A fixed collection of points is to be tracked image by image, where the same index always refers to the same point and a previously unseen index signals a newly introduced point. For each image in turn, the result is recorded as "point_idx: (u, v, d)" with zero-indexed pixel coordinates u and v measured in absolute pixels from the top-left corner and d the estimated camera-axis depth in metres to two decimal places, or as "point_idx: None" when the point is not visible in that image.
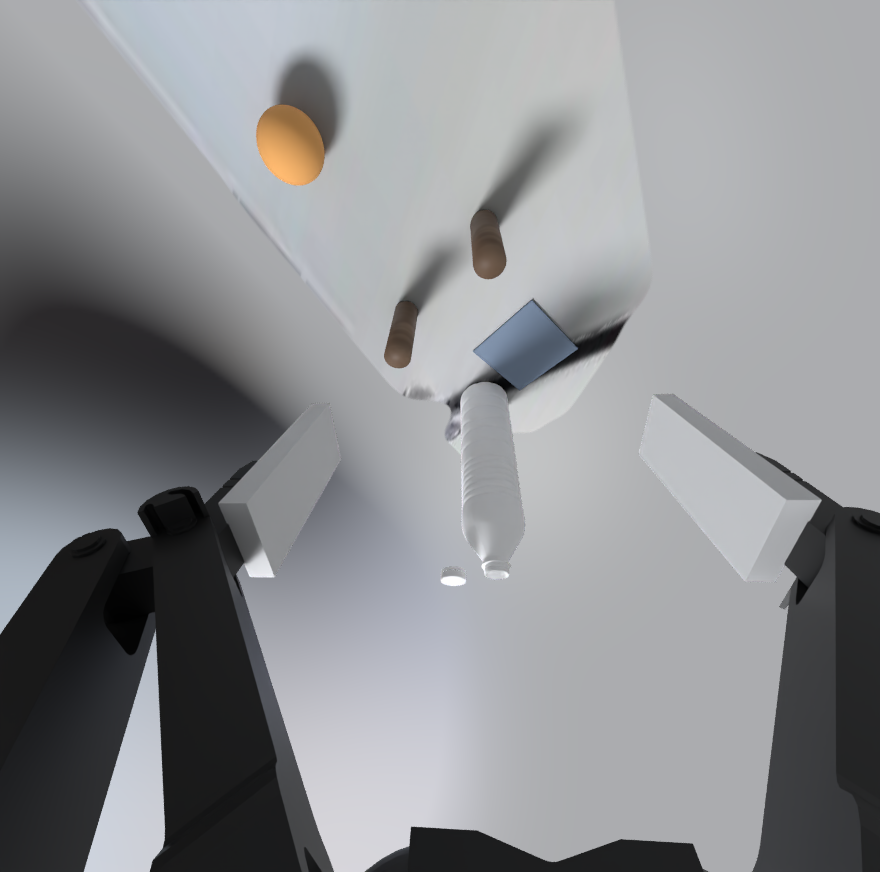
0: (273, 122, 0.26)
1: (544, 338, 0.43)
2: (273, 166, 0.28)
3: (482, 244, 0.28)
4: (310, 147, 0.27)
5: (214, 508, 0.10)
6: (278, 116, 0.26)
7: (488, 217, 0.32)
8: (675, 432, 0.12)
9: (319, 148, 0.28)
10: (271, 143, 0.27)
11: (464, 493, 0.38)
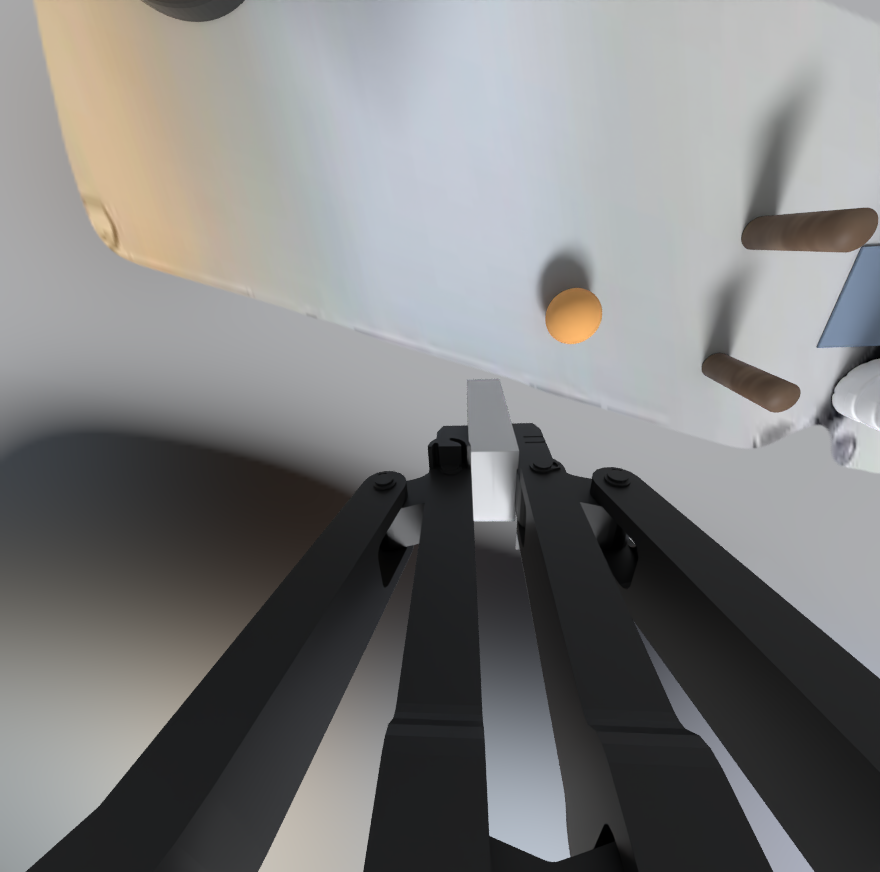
0: (565, 308, 0.32)
1: None
2: (575, 336, 0.33)
3: (829, 225, 0.25)
4: (595, 301, 0.32)
5: None
6: (565, 302, 0.32)
7: (773, 218, 0.30)
8: None
9: (597, 298, 0.32)
10: (570, 322, 0.32)
11: None
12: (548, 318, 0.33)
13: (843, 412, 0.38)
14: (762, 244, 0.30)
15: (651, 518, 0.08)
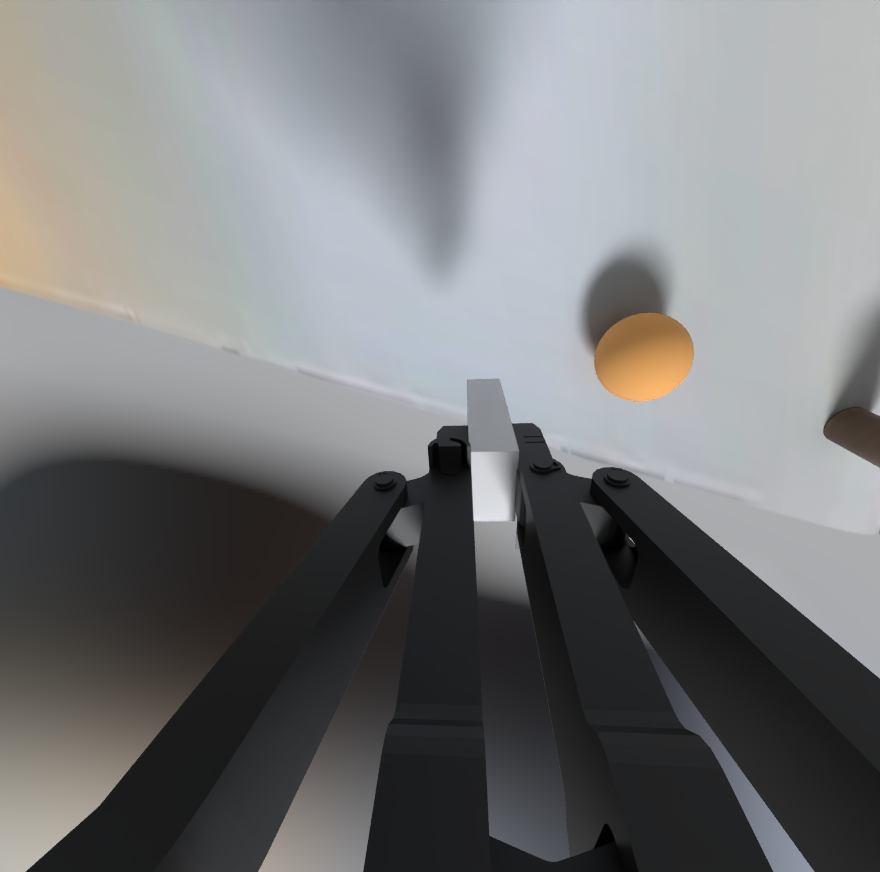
0: (635, 349, 0.19)
1: None
2: (650, 393, 0.20)
3: None
4: (686, 337, 0.19)
5: None
6: (635, 338, 0.19)
7: None
8: None
9: None
10: (644, 372, 0.19)
11: None
12: (602, 362, 0.20)
13: None
14: None
15: (651, 518, 0.08)
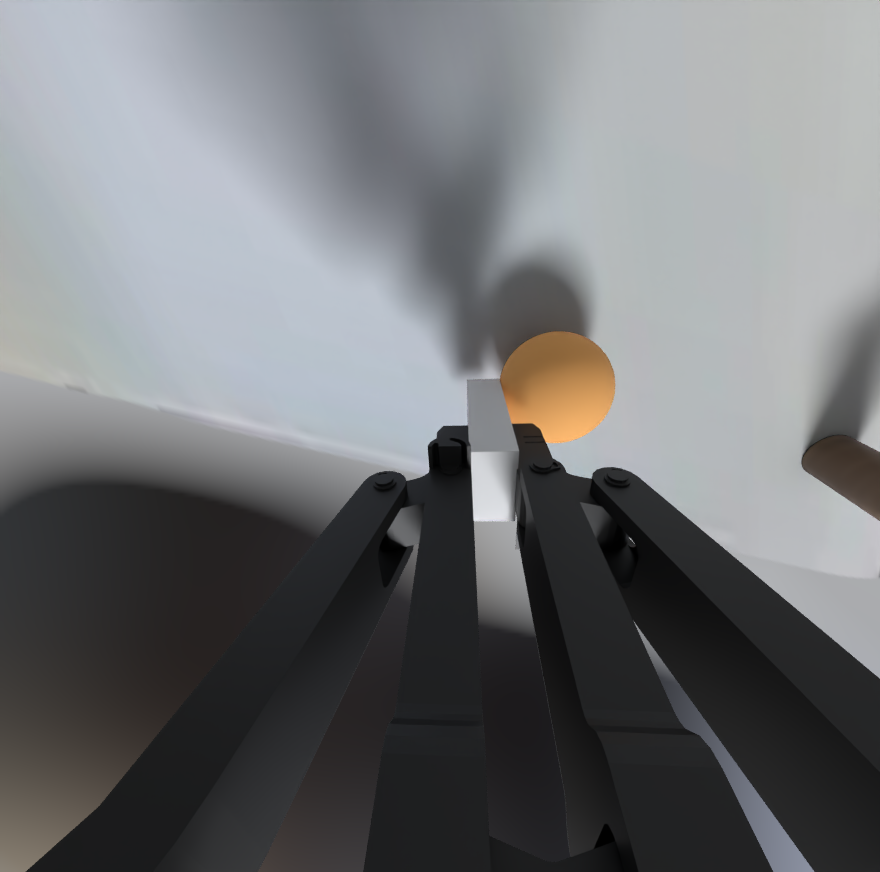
0: (533, 381, 0.14)
1: None
2: (560, 436, 0.15)
3: None
4: (600, 364, 0.14)
5: None
6: (534, 367, 0.14)
7: None
8: None
9: (604, 354, 0.15)
10: (547, 411, 0.14)
11: None
12: None
13: None
14: None
15: (651, 518, 0.08)
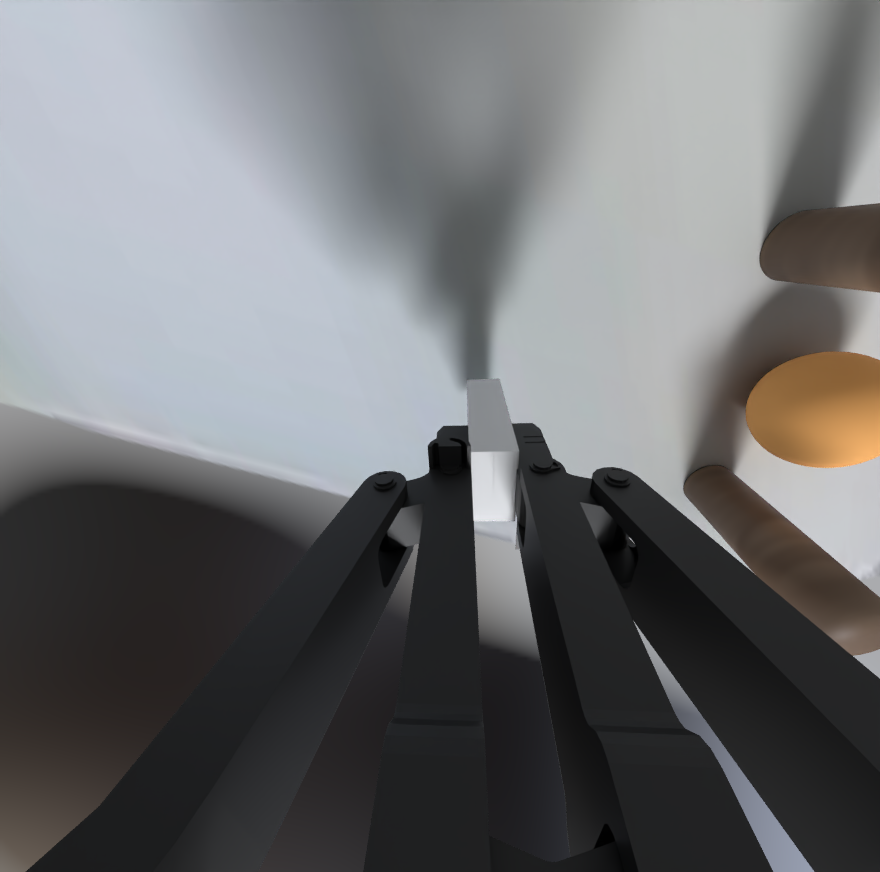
0: None
1: None
2: None
3: None
4: None
5: None
6: (875, 395, 0.13)
7: (838, 214, 0.13)
8: None
9: None
10: None
11: None
12: (809, 429, 0.14)
13: None
14: (810, 273, 0.13)
15: (651, 518, 0.08)
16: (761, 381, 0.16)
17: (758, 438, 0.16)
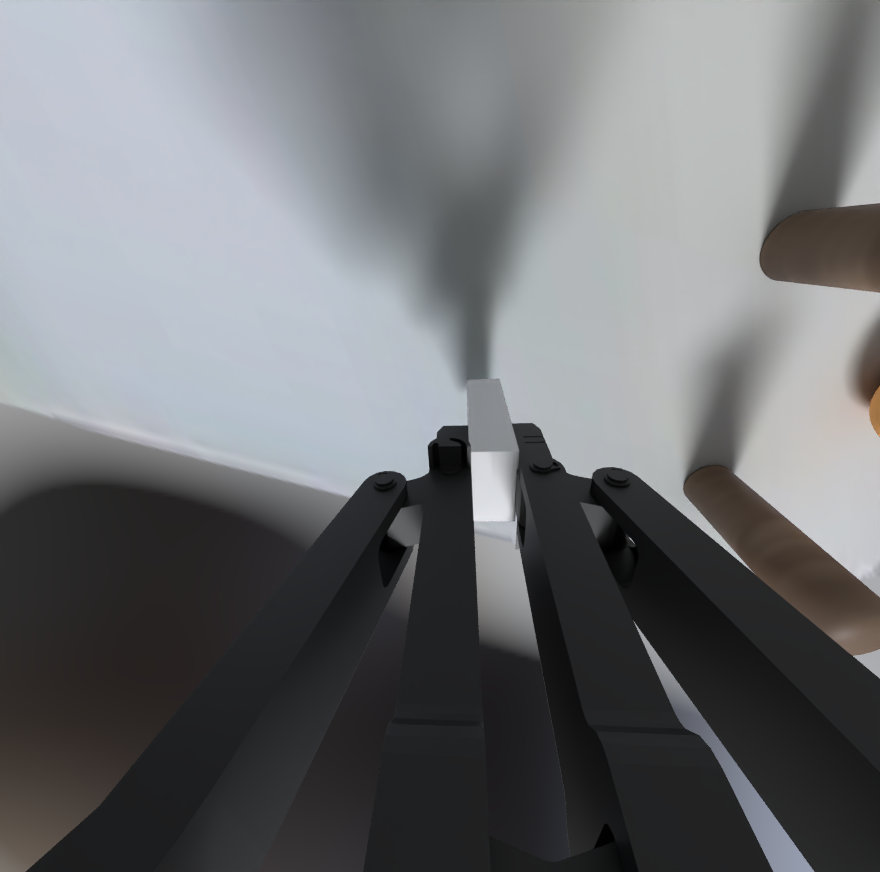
0: None
1: None
2: None
3: None
4: None
5: None
6: None
7: (838, 214, 0.13)
8: None
9: None
10: None
11: None
12: None
13: None
14: (810, 273, 0.13)
15: (651, 518, 0.08)
16: None
17: None
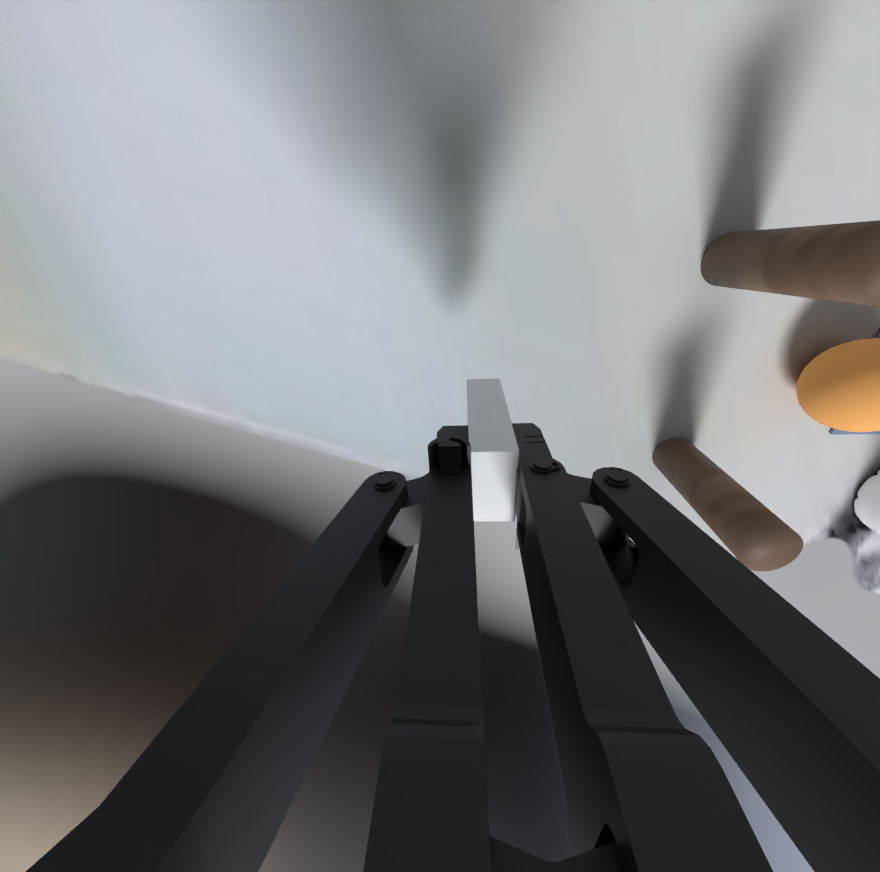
0: None
1: None
2: None
3: (854, 251, 0.12)
4: None
5: None
6: None
7: (748, 236, 0.17)
8: None
9: (826, 350, 0.20)
10: None
11: None
12: None
13: (872, 528, 0.25)
14: (732, 280, 0.18)
15: (651, 518, 0.08)
16: None
17: None
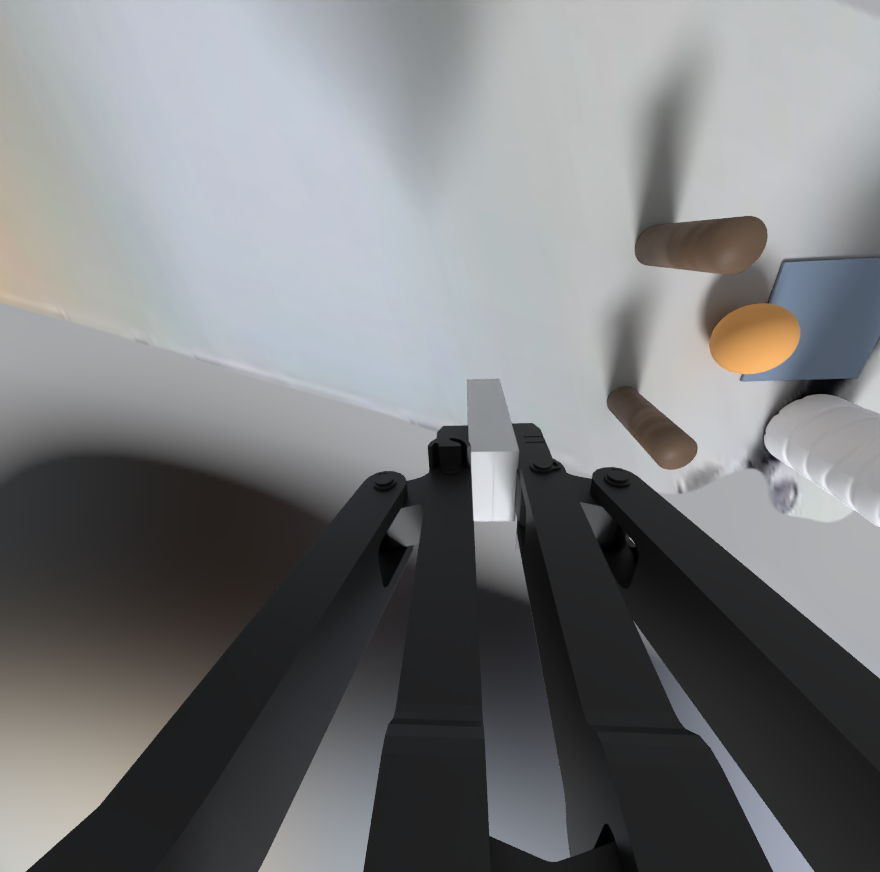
0: None
1: (845, 287, 0.26)
2: None
3: (707, 238, 0.19)
4: None
5: None
6: None
7: (662, 227, 0.24)
8: None
9: None
10: None
11: None
12: None
13: (776, 456, 0.32)
14: (653, 260, 0.24)
15: (651, 518, 0.08)
16: (786, 333, 0.24)
17: None
